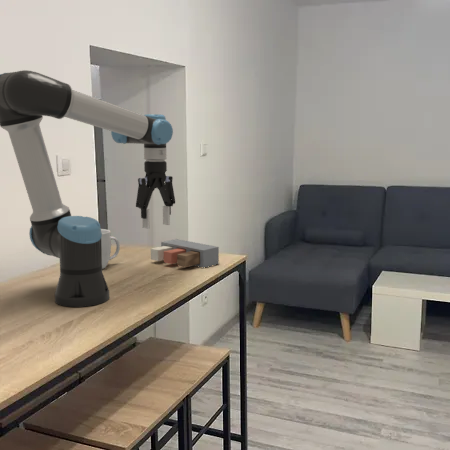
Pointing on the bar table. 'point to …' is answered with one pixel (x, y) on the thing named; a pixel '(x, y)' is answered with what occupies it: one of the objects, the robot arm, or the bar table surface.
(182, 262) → the walnut peg
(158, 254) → the cream peg
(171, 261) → the brick peg
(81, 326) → the bar table surface
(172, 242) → the socket block
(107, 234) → the mug
